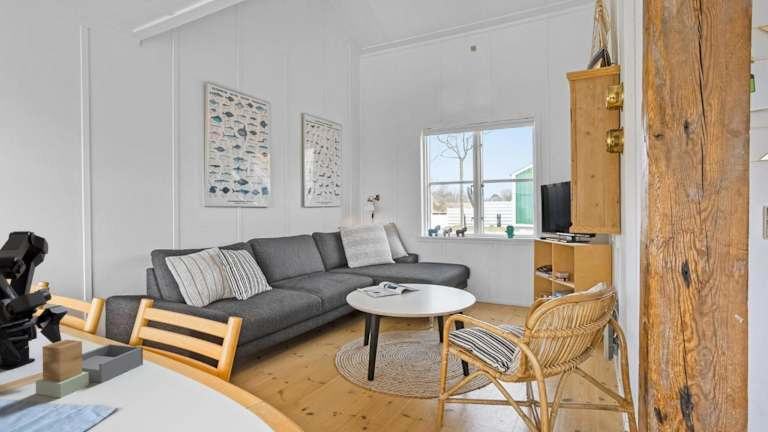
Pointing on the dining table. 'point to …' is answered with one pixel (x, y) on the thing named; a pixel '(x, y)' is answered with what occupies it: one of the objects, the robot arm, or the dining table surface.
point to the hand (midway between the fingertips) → (40, 352)
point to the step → (62, 385)
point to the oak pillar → (62, 360)
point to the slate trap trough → (111, 361)
